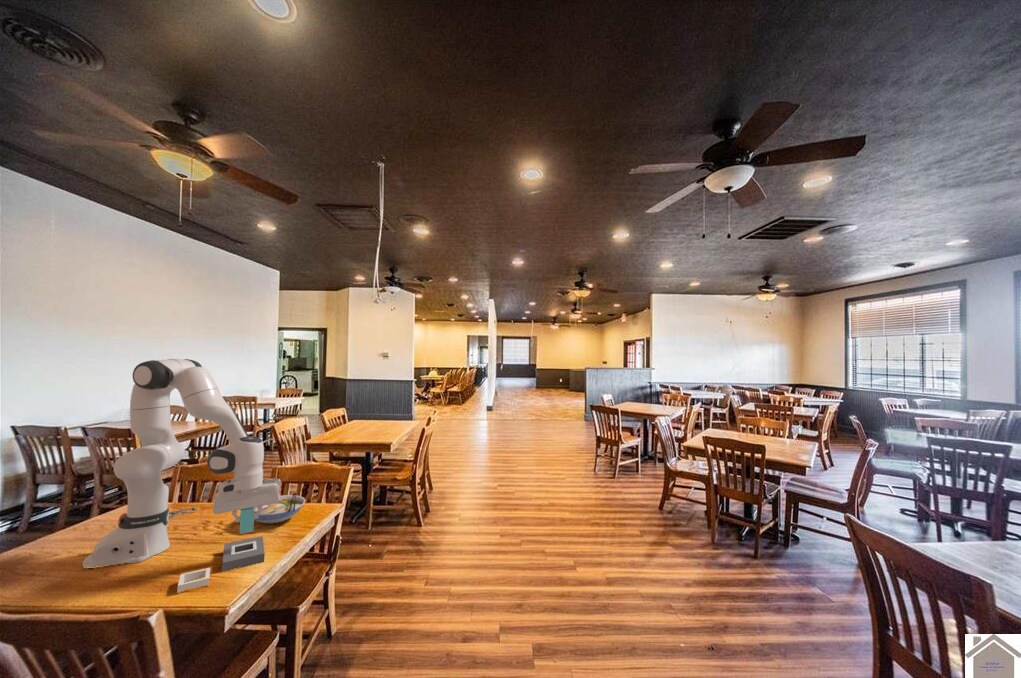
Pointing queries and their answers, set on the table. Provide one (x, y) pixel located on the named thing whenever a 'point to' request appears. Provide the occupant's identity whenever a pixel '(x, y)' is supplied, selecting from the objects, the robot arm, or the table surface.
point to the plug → (246, 520)
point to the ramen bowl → (280, 509)
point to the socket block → (243, 553)
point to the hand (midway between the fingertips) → (246, 520)
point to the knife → (180, 512)
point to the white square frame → (193, 576)
